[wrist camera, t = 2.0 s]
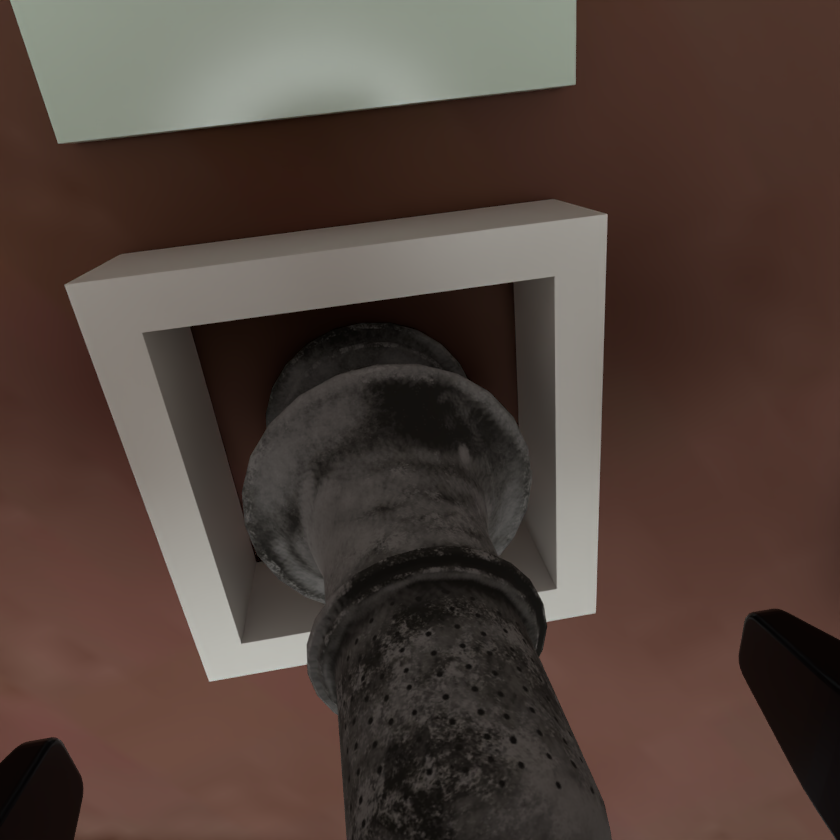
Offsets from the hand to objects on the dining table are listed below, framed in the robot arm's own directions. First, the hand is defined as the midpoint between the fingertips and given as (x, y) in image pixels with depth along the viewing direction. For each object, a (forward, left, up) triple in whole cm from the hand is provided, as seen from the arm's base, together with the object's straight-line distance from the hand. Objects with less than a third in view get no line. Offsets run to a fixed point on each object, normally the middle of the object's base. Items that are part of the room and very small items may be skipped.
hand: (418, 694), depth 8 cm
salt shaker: (0, 0, -9) cm, 9 cm away
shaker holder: (0, 0, -8) cm, 8 cm away
